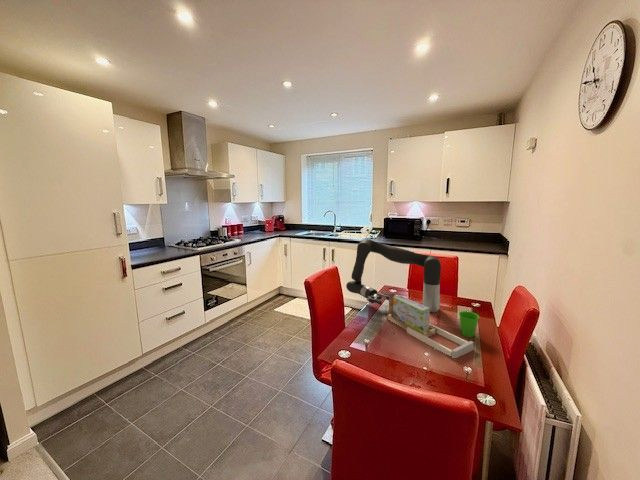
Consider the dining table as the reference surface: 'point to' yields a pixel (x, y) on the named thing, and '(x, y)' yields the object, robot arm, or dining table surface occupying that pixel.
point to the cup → (468, 323)
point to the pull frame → (403, 325)
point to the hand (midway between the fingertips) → (386, 301)
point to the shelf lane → (455, 352)
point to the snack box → (411, 313)
